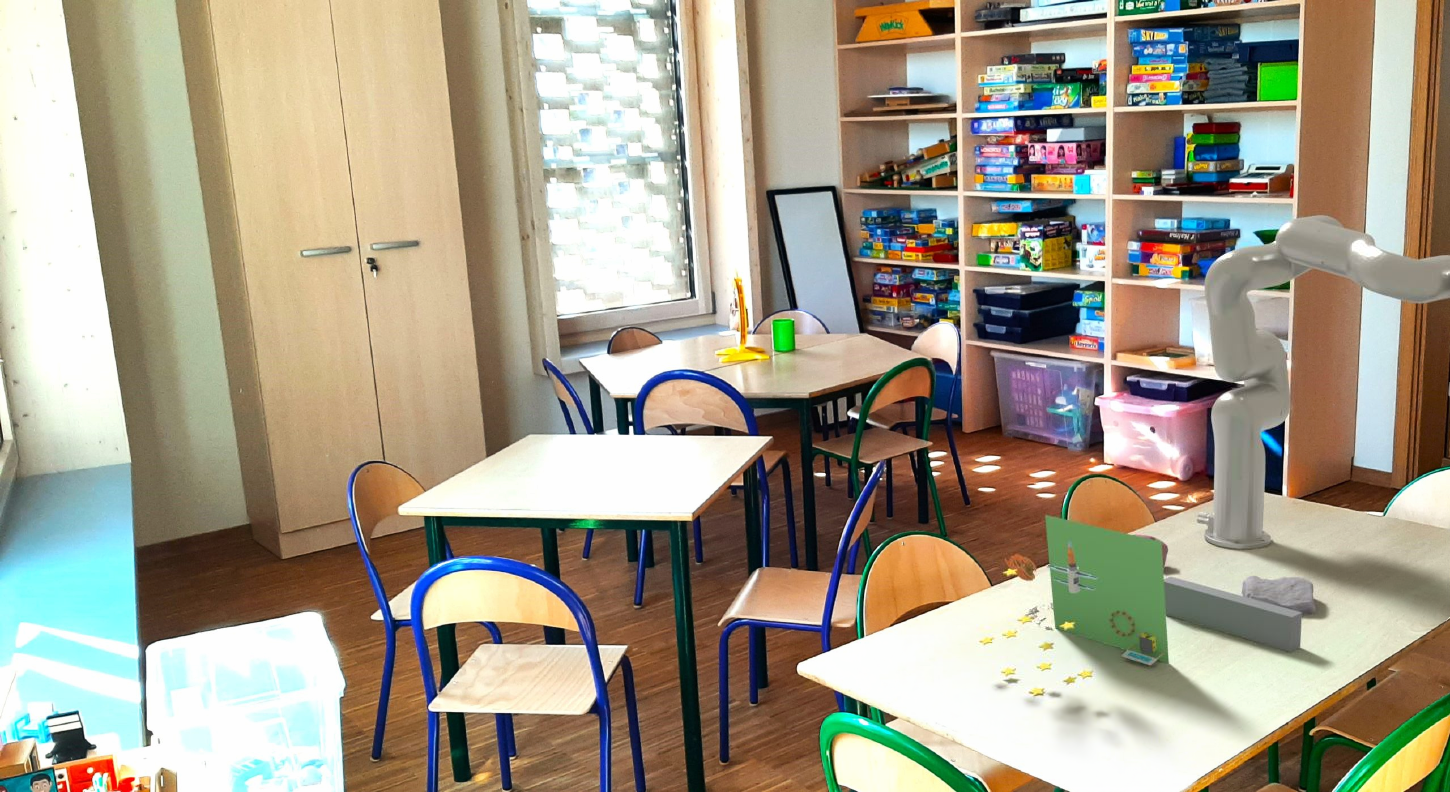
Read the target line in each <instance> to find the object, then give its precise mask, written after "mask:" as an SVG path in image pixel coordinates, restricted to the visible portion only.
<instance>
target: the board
mask: <svg viewBox="0 0 1450 792" xmlns="http://www.w3.org/2000/svg"><path fill="white" fill-rule="evenodd" d="M1164 591H1165V608H1166V616H1168V617H1173V618H1175V619H1180V620H1182V621H1185V622H1186V621H1187V622H1189V623H1193V624H1196V625H1200V626H1202V627H1206V628H1209V629H1212V630H1216V631H1219V632H1222V633H1225V634H1228V635H1233V636H1235V637H1239V638H1242V639H1245V640H1249V641H1252V642H1256V643H1259V644H1262V645H1266V646H1269V647H1272V648H1275V649H1278V650H1282V651H1285V652H1289V653H1292V652H1294V651H1296V650H1298V649H1299V648H1301V642H1302V641H1301V640H1302V639H1301V637H1302V621H1303V619H1302V618H1303V614H1302V612H1298V611H1295V610H1291V609H1288V608H1284V607H1280V606H1277V605H1273V604H1269V603H1266V602H1262V601H1258V600H1255V599H1251V598H1247V597H1244V596H1243V595H1239V594H1237V593H1236V594H1235V593H1232V592H1229V591H1225V590H1222V589H1217V588H1214V587H1211V586H1206V585H1203V584H1199V583H1195V582H1191V581H1188V580H1185V579H1181V578H1177V577H1174V576H1168V577H1167V578H1164Z"/></svg>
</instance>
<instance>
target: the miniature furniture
mask: <svg viewBox="0 0 1450 792" xmlns="http://www.w3.org/2000/svg"><path fill="white" fill-rule="evenodd" d="M1040 608H1041V606H1040ZM1050 608H1051V609H1052V611H1054V609H1053V600H1051V602H1050V606H1049V605H1048V606H1045V604H1043V605H1042V608H1041V609H1042V610H1045V609H1046V610H1047V609H1048V610H1049V609H1050ZM1028 609H1029V612H1027V613H1026V614H1024V616H1026V617H1029V616H1031V615H1032V614H1033V615H1032V616H1033V618H1032V619H1031V620H1033V619H1034V618H1037V616H1038V615H1037V613H1036V611H1038V612H1040V610H1038V605H1037V604H1035V605H1032V606H1031V607H1030V608H1028ZM1046 620H1047V617H1046V616H1042V617H1041V616H1040V618H1038V621H1036V620H1034V621H1033V622H1036V623H1035V624H1037V626H1038V627H1040V626H1041V621H1042V622H1043V621H1046ZM1044 627H1045V630H1050V631H1052V630H1053V627H1052V626H1049V625H1045V626H1044Z"/></svg>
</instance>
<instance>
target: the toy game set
mask: <svg viewBox="0 0 1450 792" xmlns="http://www.w3.org/2000/svg"><path fill="white" fill-rule="evenodd" d="M1044 516H1045V528H1046V529H1045V530H1046V539H1047V550H1048V551H1047V552H1048V553H1047V554H1048V563H1049V564H1048V565H1046V568H1047V569H1049V574H1050V575H1049V576H1050V584H1051V596H1052V601H1053V608H1052V610H1053V609H1054V610H1053V619H1054V628H1055V629H1058V630H1059V631H1060V630H1061V631H1065V632H1068V633H1071V634H1074V635H1077V636H1081V637H1084V638H1087V639H1090V640H1093V641H1096V642H1100V643H1102V644H1106V645H1109V646H1112V647H1116V648H1118V649H1121V650H1125V652H1123V653H1122V654H1121V657H1123V658H1125V659H1129V660H1132V661H1134V662H1138V663H1142V664H1143V665H1147V666H1152V665H1153V664H1154V663H1155V662H1157V661H1160V662H1164V663H1167V664H1169V663H1170V660H1169V646H1168V645H1169V643H1168V630H1167V615H1166V608H1165V591H1164V579H1165V578H1164V575H1165V574H1164V568H1163V558H1162V542H1163V541H1162V542H1160V541H1156V540H1151V539H1147V538H1143V537H1138V536H1134V535H1135V534H1129V533H1125V532H1120V531H1117V530H1111V529H1107V528H1104V527H1098V526H1094V525H1092V524H1091V525H1090V524H1086V523H1082V522H1077V521H1074V520H1069V519H1065V518H1061V517H1057V516H1051V515H1046V514H1045V515H1044ZM1004 562H1005V563H1006V565H1007V566H1008V569H1007V571H1002V574H1004V575H1006V576H1007V577H1010V576H1011V575H1012V576H1015V575H1016V576H1017V577H1018V578H1020V579H1022V581H1028V582H1031V581H1034V580H1035V578H1036V575H1035V572H1037V566H1036V564H1035V563H1034V562H1033V561H1032V560H1031V559H1030V558H1028V557H1027V556H1022V555H1020V554H1018V553H1016V554H1015V553H1014V555H1011V556H1010V558H1009V559H1008V560H1007V559H1006V557H1004ZM1018 563H1019V564H1018ZM1007 577H1006V578H1007ZM1033 616H1034V615H1032V616H1031V615H1030V616H1025V615H1023V616H1022V617H1021V618H1019V619H1017V621H1018V622H1021V623H1022V625H1024V624H1026V623H1032V622H1033V621H1032V620H1033V619H1034V618H1033ZM1032 618H1033V619H1032ZM1017 633H1018V631H1017V630H1014V631H1011V630H1009V629H1008V630H1007V632H1004V633H1002V634H1001V635H1002V636H1003V637H1004V636H1005V637H1006V639H1010V638H1013V637H1014V638H1017V635H1016V634H1017ZM993 640H995V639H994V637H993V636H992V637H986V636H984V639H980V640H979V643H981V644H983V646H985V645H987V644H993ZM1054 645H1055V643H1054V642H1050V643H1048V642H1046V641H1045V642H1044V643H1043V644H1041V645H1038V648H1040V649H1043V652H1044V651H1047V650H1054V647H1053V646H1054ZM1052 665H1053V663H1052V662H1050V663H1046V662H1043V661H1042V663H1041V664H1040V665H1037V666H1036V668H1037V669H1041V672H1043V671H1045V670H1051V669H1052V668H1051V666H1052ZM1016 670H1017V668H1016V667H1015V668H1009V667H1006V668H1005V669H1004V670H1001V671H1000V674H1005V677H1007V676H1009V675H1015V674H1016V672H1015V671H1016ZM1092 673H1094V671H1093V670H1088V671H1087V670H1085V669H1083V670H1082V672H1080V673H1077V676H1079V677H1082V680H1084V679H1086V678H1093V674H1092ZM1077 676H1073V677H1072V676H1068V678H1067V679H1064V680H1062V681H1063V683H1066V686H1068V685H1069V684H1073V683H1076V679H1077V678H1078V677H1077ZM1044 690H1045V687H1040V688H1038V687H1036V686H1034V689H1032V690H1030V691H1028V693H1029V694H1033V697H1036V696H1038V695H1044V693H1043V691H1044Z"/></svg>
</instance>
